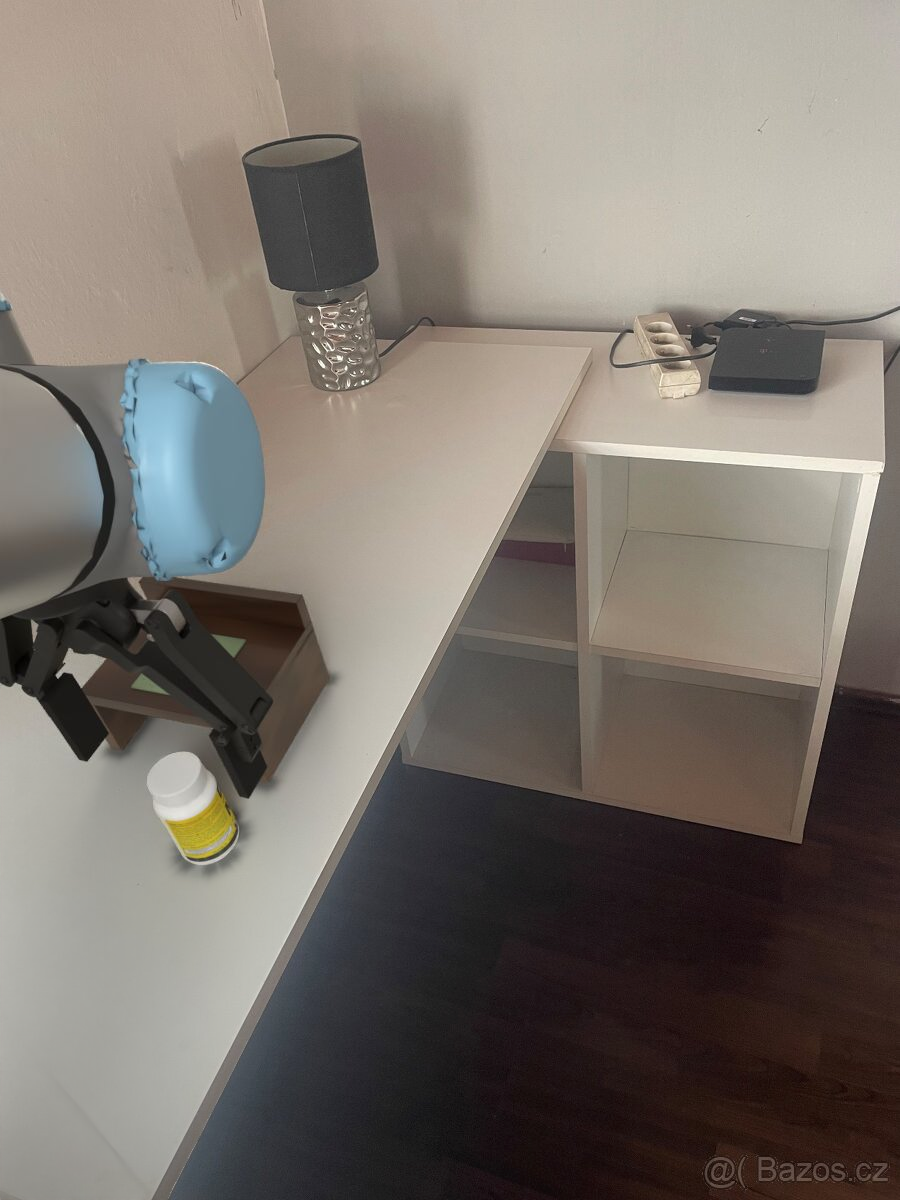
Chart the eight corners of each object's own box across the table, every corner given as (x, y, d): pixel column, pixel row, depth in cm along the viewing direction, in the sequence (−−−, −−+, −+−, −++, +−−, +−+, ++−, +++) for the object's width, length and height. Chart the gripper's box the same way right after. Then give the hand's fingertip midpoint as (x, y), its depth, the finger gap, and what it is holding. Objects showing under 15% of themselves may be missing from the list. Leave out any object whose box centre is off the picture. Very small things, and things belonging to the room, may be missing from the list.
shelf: (268, 782, 71) (231, 699, 64) (110, 748, 76) (61, 667, 69) (330, 677, 79) (302, 593, 72) (183, 653, 84) (145, 573, 78)
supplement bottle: (253, 832, 67) (219, 765, 62) (206, 878, 65) (167, 812, 59) (214, 804, 70) (179, 737, 64) (168, 846, 67) (127, 780, 62)
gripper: (265, 504, 46) (350, 753, 60) (-81, 470, 54) (65, 696, 68) (191, 598, 41) (302, 846, 55) (-179, 545, 49) (0, 772, 63)
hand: (171, 763), depth 61 cm, fingers open, 13 cm apart
